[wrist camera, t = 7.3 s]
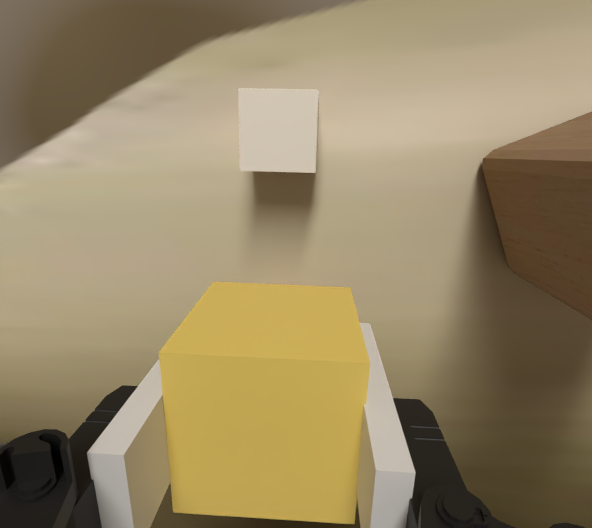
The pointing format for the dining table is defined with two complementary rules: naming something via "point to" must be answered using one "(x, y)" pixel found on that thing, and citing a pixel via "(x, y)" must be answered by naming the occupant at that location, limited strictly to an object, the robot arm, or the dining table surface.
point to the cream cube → (278, 129)
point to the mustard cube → (266, 403)
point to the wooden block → (547, 209)
